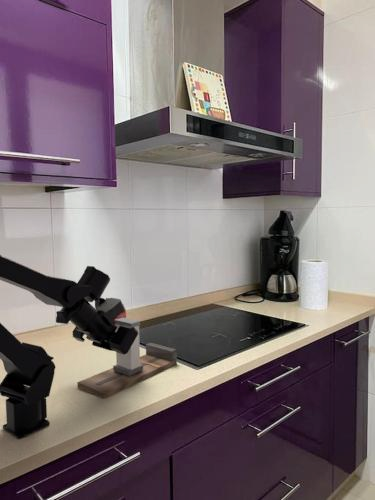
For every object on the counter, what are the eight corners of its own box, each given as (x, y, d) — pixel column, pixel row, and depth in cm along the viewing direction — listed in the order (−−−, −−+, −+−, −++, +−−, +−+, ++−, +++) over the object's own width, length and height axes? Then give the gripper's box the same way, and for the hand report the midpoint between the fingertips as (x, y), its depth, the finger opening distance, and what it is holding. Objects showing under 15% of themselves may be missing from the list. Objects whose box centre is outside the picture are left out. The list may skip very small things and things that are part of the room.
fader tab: (129, 376, 94) (128, 324, 93) (112, 370, 98) (111, 320, 97) (143, 369, 98) (142, 320, 97) (126, 364, 102) (125, 316, 101)
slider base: (104, 398, 85) (103, 380, 85) (77, 387, 91) (77, 370, 91) (176, 363, 106) (176, 349, 105) (150, 356, 112) (150, 342, 111)
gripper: (131, 293, 85) (164, 329, 94) (80, 285, 96) (114, 318, 106) (105, 336, 79) (142, 370, 89) (54, 322, 91) (92, 353, 100)
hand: (122, 350), depth 96 cm, fingers closed, pressing on fader tab
